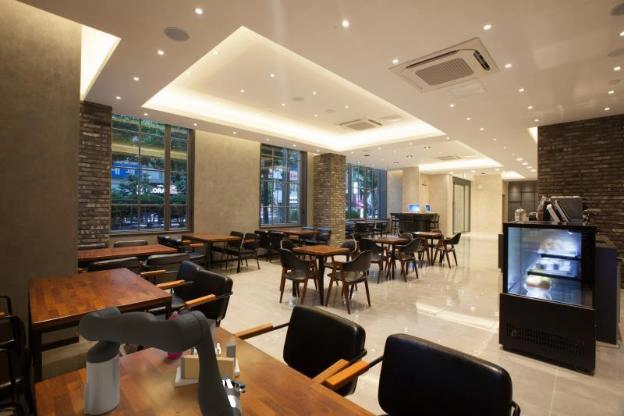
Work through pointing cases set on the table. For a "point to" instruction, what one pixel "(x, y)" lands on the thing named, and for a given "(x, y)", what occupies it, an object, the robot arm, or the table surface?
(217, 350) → the white toothed block
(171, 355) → the pepper mill
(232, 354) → the white grey slotted rack
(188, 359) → the leaning tan board
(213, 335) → the coffee box
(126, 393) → the table surface
